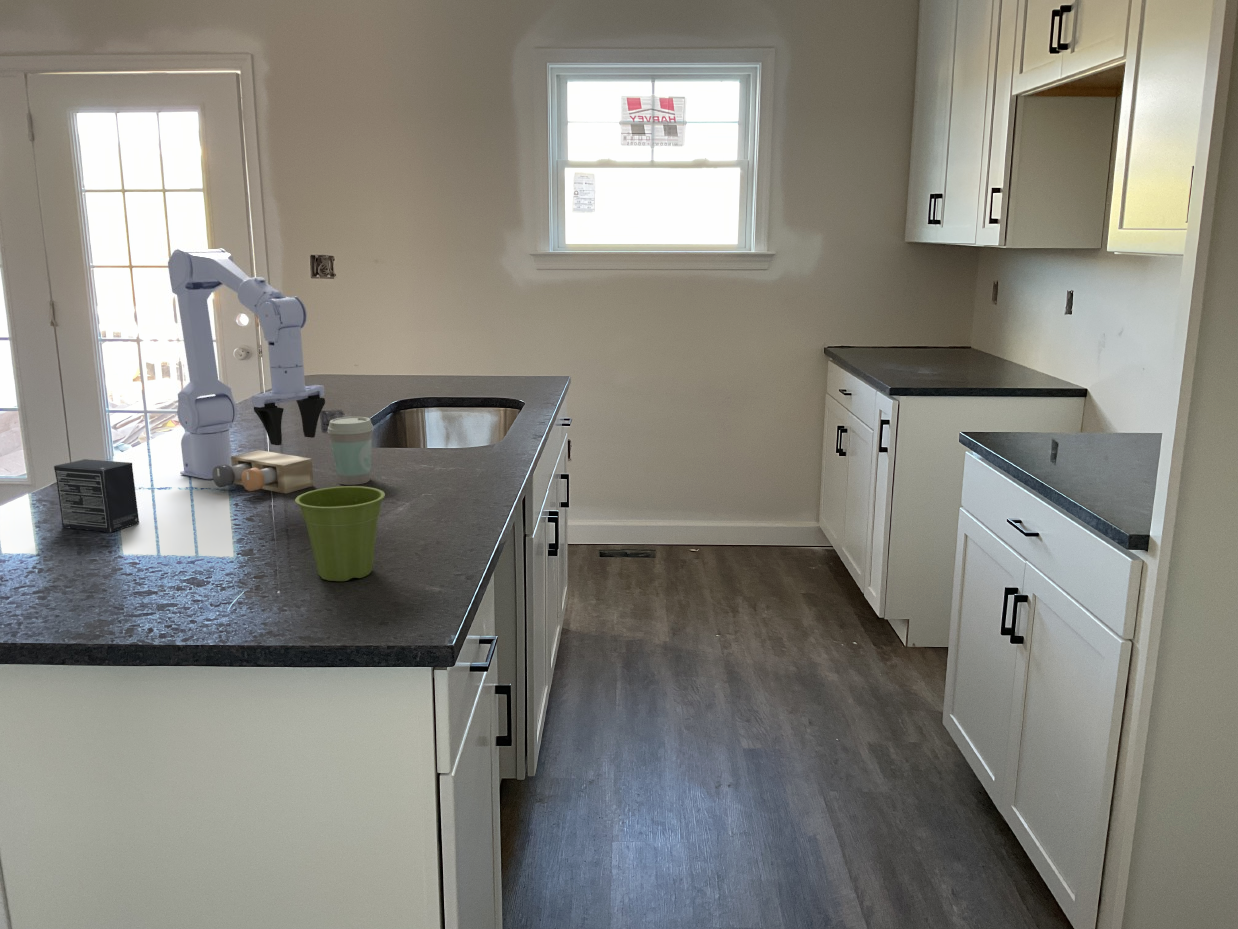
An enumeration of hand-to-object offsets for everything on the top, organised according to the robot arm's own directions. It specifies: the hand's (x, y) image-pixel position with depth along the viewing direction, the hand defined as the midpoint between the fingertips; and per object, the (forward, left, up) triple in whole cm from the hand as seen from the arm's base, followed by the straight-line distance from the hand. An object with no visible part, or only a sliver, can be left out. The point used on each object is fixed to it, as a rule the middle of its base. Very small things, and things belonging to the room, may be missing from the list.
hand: (293, 440), depth 176 cm
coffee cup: (+2, +12, -10) cm, 16 cm away
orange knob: (-6, -2, -9) cm, 11 cm away
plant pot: (+41, -26, -10) cm, 50 cm away
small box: (-12, -30, -10) cm, 34 cm away
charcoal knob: (-13, -3, -9) cm, 16 cm away
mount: (-9, +2, -10) cm, 14 cm away
